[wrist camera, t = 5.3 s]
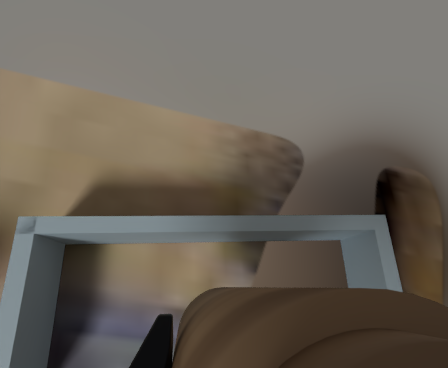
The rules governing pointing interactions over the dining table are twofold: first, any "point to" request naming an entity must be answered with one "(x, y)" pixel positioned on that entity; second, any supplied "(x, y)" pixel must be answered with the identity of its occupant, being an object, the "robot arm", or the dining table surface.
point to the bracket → (162, 233)
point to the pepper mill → (311, 329)
